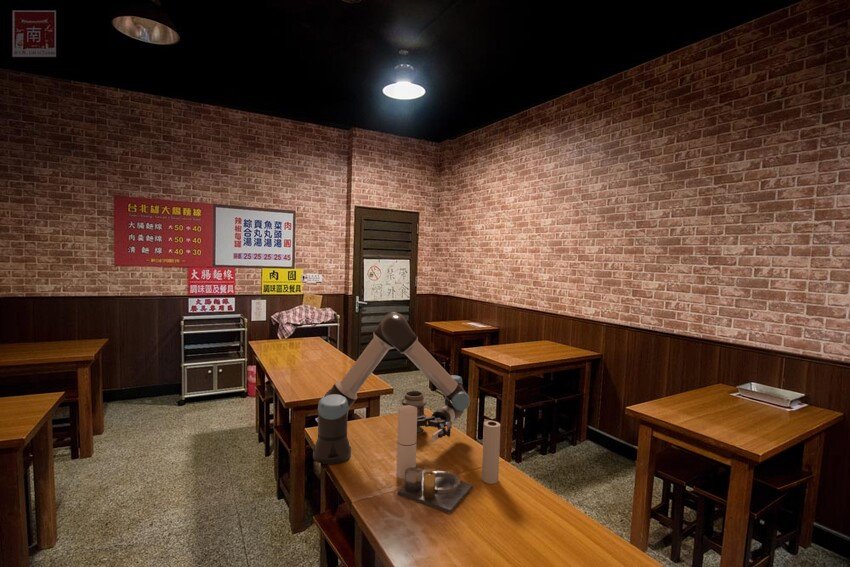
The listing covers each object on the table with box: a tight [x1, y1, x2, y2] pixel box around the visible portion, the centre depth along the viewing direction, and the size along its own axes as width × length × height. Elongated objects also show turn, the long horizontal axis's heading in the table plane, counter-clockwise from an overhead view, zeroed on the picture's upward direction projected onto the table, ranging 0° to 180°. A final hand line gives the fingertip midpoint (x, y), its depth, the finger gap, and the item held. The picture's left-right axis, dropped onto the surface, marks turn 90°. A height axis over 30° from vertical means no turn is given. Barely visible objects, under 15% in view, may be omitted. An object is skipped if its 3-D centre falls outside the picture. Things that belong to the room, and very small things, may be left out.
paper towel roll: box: [481, 418, 501, 485], centre depth 154 cm, size 7×6×21 cm
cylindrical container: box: [395, 405, 418, 480], centre depth 156 cm, size 7×7×25 cm
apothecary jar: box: [401, 390, 427, 435], centre depth 196 cm, size 12×12×18 cm
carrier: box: [397, 466, 474, 514], centre depth 146 cm, size 20×20×8 cm
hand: (417, 434), depth 161 cm, fingers open, 13 cm apart
